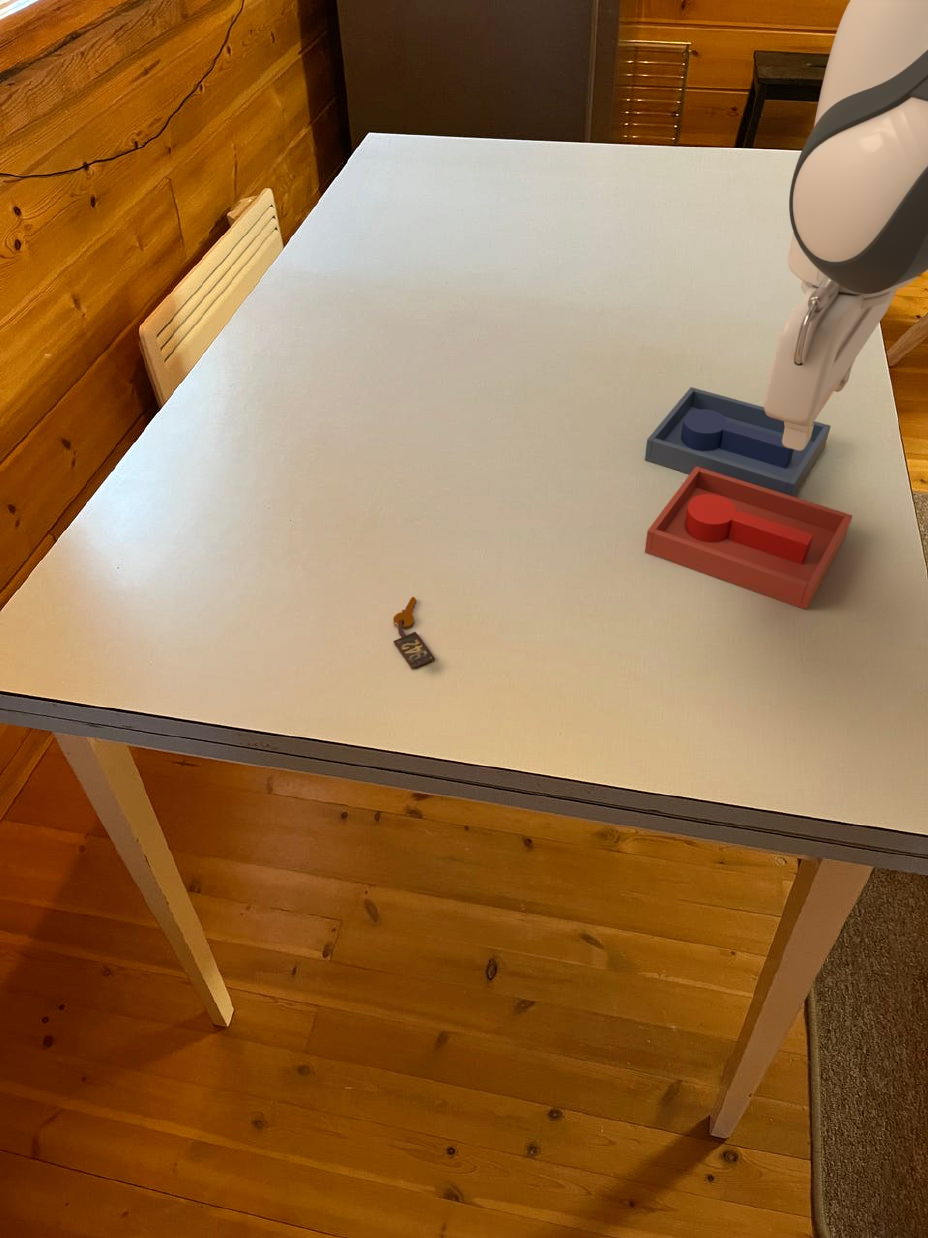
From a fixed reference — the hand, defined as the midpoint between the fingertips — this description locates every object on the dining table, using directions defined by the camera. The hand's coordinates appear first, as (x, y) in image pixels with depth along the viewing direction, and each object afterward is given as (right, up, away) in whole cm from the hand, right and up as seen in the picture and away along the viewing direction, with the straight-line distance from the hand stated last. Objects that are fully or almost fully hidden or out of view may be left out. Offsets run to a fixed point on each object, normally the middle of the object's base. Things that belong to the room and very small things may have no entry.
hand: (815, 414), depth 74 cm
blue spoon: (0, +1, +21) cm, 21 cm away
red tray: (-2, -9, +12) cm, 15 cm away
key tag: (-32, -18, +6) cm, 37 cm away
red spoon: (-2, -9, +11) cm, 15 cm away
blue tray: (0, +1, +22) cm, 22 cm away
